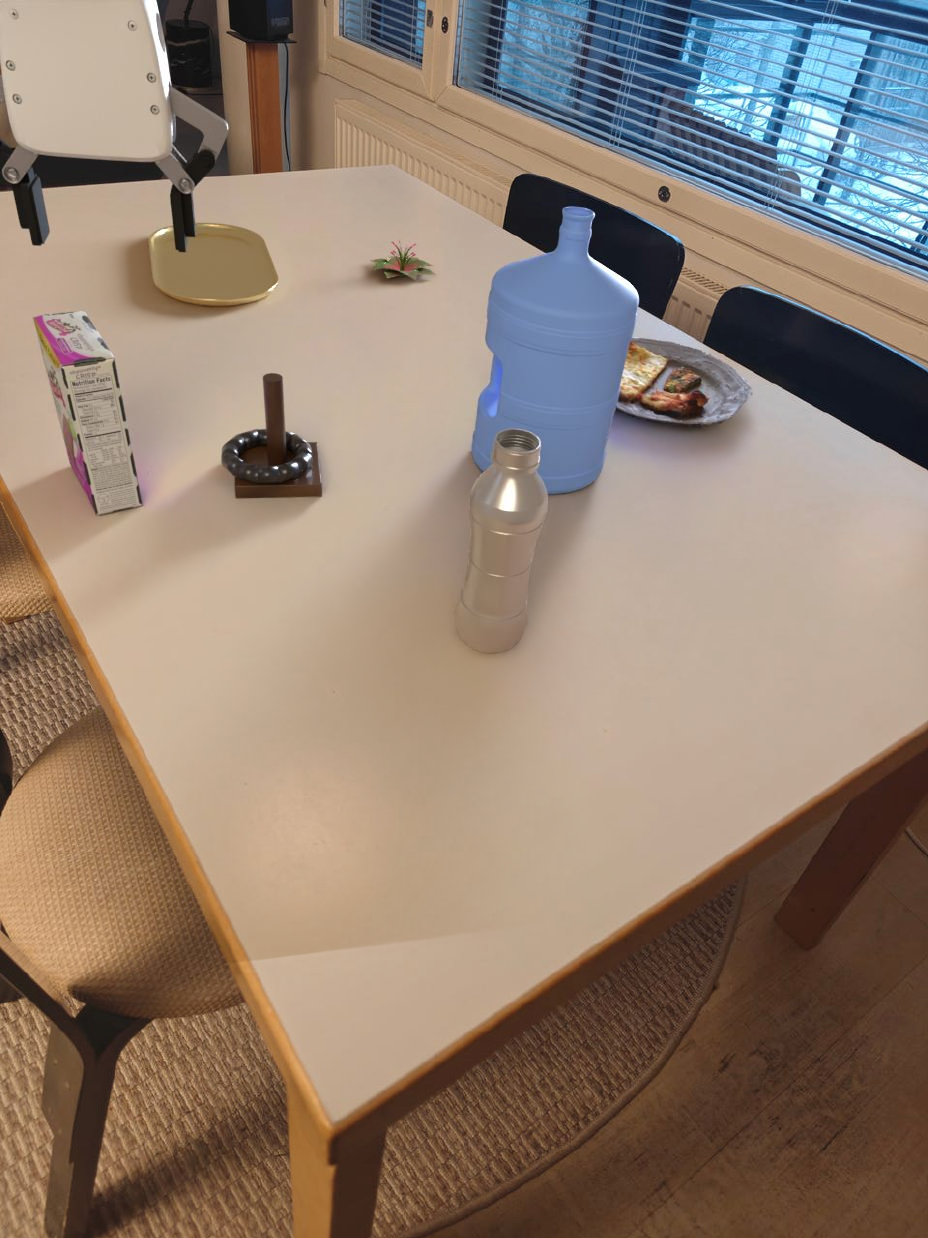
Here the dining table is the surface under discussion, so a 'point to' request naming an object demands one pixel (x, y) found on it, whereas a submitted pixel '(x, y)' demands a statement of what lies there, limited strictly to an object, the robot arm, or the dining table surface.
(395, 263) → the lily flower
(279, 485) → the post
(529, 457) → the plastic bottle
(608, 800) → the dining table surface
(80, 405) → the candy bar box
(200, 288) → the serving platter
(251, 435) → the ring
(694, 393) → the food plate
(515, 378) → the water jug
